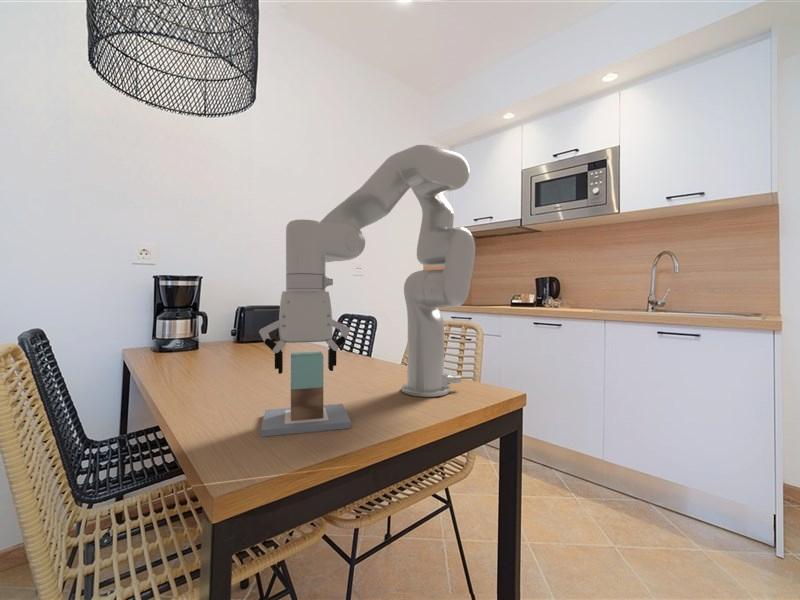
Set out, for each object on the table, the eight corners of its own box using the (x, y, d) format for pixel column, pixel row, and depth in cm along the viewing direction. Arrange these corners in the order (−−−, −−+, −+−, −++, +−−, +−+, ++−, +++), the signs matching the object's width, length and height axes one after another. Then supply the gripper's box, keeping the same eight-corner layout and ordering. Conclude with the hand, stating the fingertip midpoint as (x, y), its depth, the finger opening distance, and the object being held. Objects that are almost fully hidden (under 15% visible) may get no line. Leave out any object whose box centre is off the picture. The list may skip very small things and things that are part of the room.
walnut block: (320, 408, 78) (320, 380, 78) (323, 418, 72) (323, 387, 72) (290, 411, 76) (290, 382, 76) (290, 421, 70) (290, 389, 70)
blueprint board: (342, 409, 82) (342, 403, 82) (351, 427, 70) (351, 421, 70) (265, 415, 77) (265, 409, 77) (260, 436, 66) (260, 429, 66)
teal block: (320, 380, 78) (320, 351, 77) (323, 387, 72) (323, 356, 72) (290, 382, 76) (290, 352, 76) (290, 389, 70) (290, 357, 70)
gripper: (347, 285, 79) (347, 365, 80) (260, 284, 75) (260, 369, 75) (352, 284, 72) (352, 372, 73) (257, 283, 67) (257, 377, 68)
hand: (306, 371), depth 74 cm, fingers open, 9 cm apart
